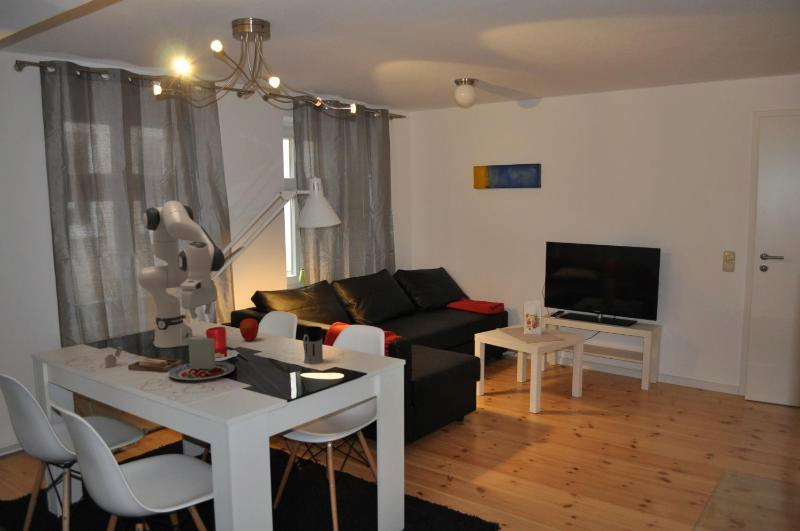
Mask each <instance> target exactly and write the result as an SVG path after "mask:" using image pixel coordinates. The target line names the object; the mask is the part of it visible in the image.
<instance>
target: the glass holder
mask: <svg viewBox="0 0 800 531" xmlns="http://www.w3.org/2000/svg"><path fill="white" fill-rule="evenodd" d="M322 329H323V328H322V327H321V326H316V325H314V326H313V325H311V326H306V327H304V330H303V333H304V335H303V339H302V344H303V352H304V359H303V363H304V364H305V365H319V364H322V363H324V362H325V360H324V359H323V358H324V357H323V356H324V355H323V353H324V350H323V336H322V335H323V334H322V332H323V330H322Z"/></svg>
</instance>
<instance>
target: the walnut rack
mask: <svg viewBox="0 0 800 531" xmlns="http://www.w3.org/2000/svg"><path fill="white" fill-rule="evenodd" d="M146 358H147V359H156V360H165V361H167V363H168V366H166V367H157V366H144V365H139V362H138V361H139V360H137V361H134V362H133V363H130V364H128V365H127V367H128V370H129V371H130V370H131V371H141V372H151V371H152V373H154V372H155V373H164V372H166V373H169V371H170V370H172V369H173V368H175V367H178V366H181V365H185V364H184V359H171V358H158V357H145V358H143V359H146ZM143 359H141V360H143Z"/></svg>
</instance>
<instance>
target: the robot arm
mask: <svg viewBox="0 0 800 531" xmlns="http://www.w3.org/2000/svg"><path fill="white" fill-rule="evenodd" d="M142 219H143V224H144V227H145V228H146V229H147V230H149V231H152V241H153V243H152V247H153V254H154V256H155V258H158V259H159V260H161V261H163V262H166V263H167V264H166V265H157V266H156V265H153V266H152V265H151V266H148V267H144V268H141V269H140V270H139V272H138V275H137V280H138V284H139V285H140V286H141V287H142V288H143V289H144V290H146V291H147V292H148V293H150V295H151V297H152V298H153V300H154V304H155V311H156V316H155V324H156V327H155V328H154V341H153V342H152V344H153V345H154V346H155V347H156V348H161V349H162V348H163V349H164V348H166V349H167V348H177V347H186V346H189V343H188V339H190V338H192V337H196V338H199V337H198V336H194V333H193V329H192V327H190V326H189V325H188V324H186V323H185V322H184V320H186V319H187V315H186V314H181V307H182V308H183V310H188V311H189V313H190V316H191V320H192V319H193V320H196V319H197V318H198V314H197V312H196V310H197V309H196V308H199V307H202V306H204V305H205V309H203V310H204V315H210V314H211V309H212V306H213V304H212V303H214V302H217V300H218V290H217V286H216V284H215V281H214V280H213V279H212V276H211V275H212V274H211V273H212V272H219V271H221V269H222V268H223V267H224V266H225V262H226V260H225V259H226V258H225V254H224V253H223V251H222V249H221V248H219V247H218V245H217V244H215V242H214V241H213V239H212V238H211V236H210V235H209V234H208V231H207V230H206V229H205V228H204V227H203V226H202V225H200V224H198V223H197V222H195V221H194V220H195V213H194V212H193V209H192V208H191V207H190V206H189V205H183V204H182V203H181V202H180V201H177V200H169V201H167V202H165V203H164V204H163V206H158V207H154V206H153V207H149V208H146V209H145V211H144V213H143V218H142ZM179 240H181V241H189V243H188V245H187V248H185V249H184V250H181V251H180V249H179ZM174 288H180V289H181V290H182V291H181V296H180V297H181V301H180V299H179V298H178V296H176V295H173V294H170V293H168V292H167V291H166V289H174Z"/></svg>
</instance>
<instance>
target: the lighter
mask: <svg viewBox="0 0 800 531" xmlns="http://www.w3.org/2000/svg"><path fill="white" fill-rule="evenodd" d="M122 350H123V347H121V346H117V348H116V350H115V353H114V354H112V353H110V354H107V356H105V357H104V364H105V368H106V369H109V368H113V367H117V358H120V355H121V353H122Z"/></svg>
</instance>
